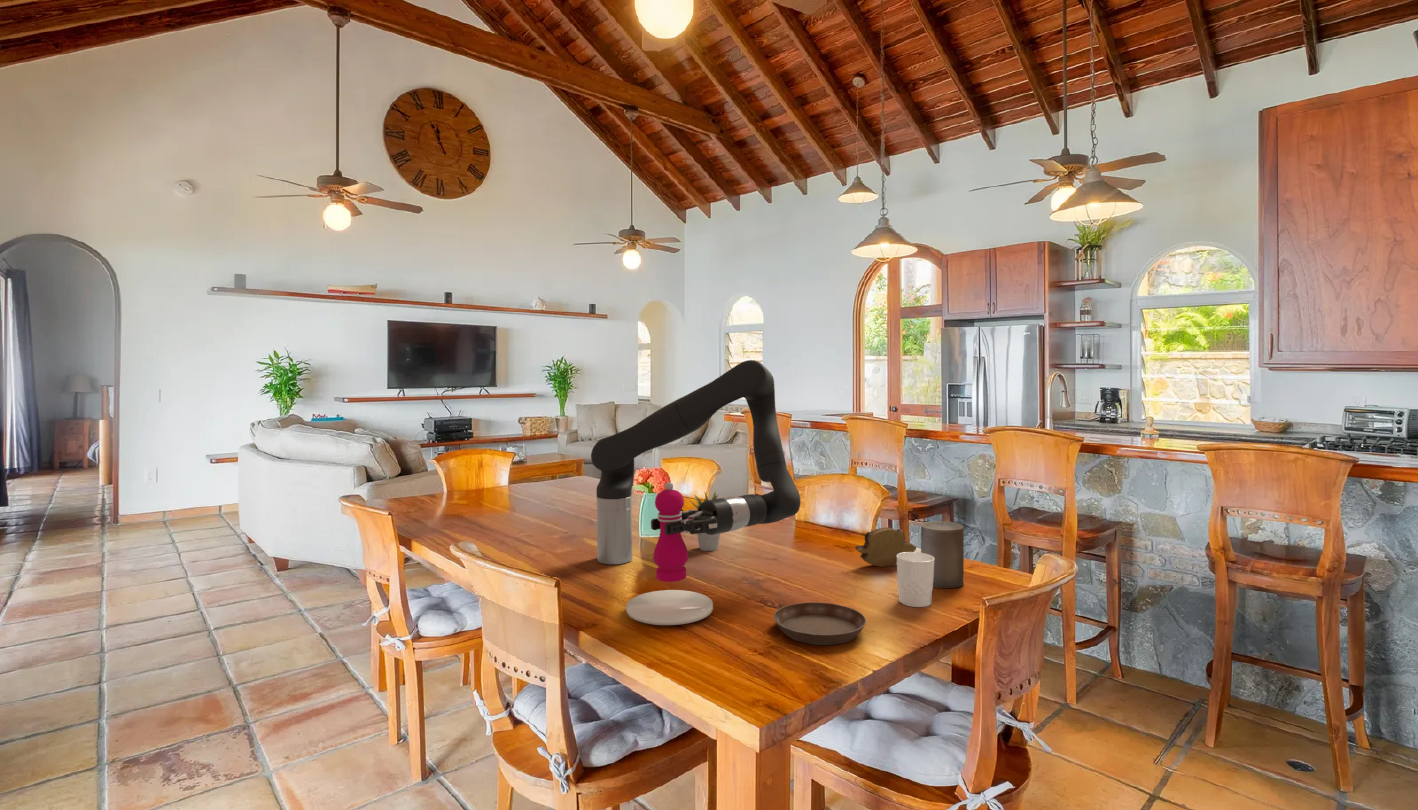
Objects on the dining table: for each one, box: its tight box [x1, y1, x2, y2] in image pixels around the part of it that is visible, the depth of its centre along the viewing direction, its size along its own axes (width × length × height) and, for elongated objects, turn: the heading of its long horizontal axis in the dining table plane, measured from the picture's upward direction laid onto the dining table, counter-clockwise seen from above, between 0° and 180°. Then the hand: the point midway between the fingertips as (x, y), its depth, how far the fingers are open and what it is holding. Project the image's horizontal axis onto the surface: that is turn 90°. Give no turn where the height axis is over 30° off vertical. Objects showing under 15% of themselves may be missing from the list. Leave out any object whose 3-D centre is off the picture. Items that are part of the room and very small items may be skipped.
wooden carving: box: [855, 527, 917, 568], centre depth 173 cm, size 16×5×10 cm, turn 108°
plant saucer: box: [773, 601, 867, 646], centre depth 130 cm, size 18×18×3 cm
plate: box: [625, 589, 714, 626], centre depth 140 cm, size 18×18×2 cm
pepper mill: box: [653, 481, 689, 583], centre depth 139 cm, size 7×7×20 cm
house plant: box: [688, 490, 721, 552], centre depth 188 cm, size 14×14×16 cm
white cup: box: [896, 551, 935, 608], centre depth 145 cm, size 8×8×10 cm
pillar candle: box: [920, 519, 965, 589], centre depth 158 cm, size 10×10×15 cm
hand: (659, 527), depth 137 cm, fingers closed on pepper mill, 4 cm apart
